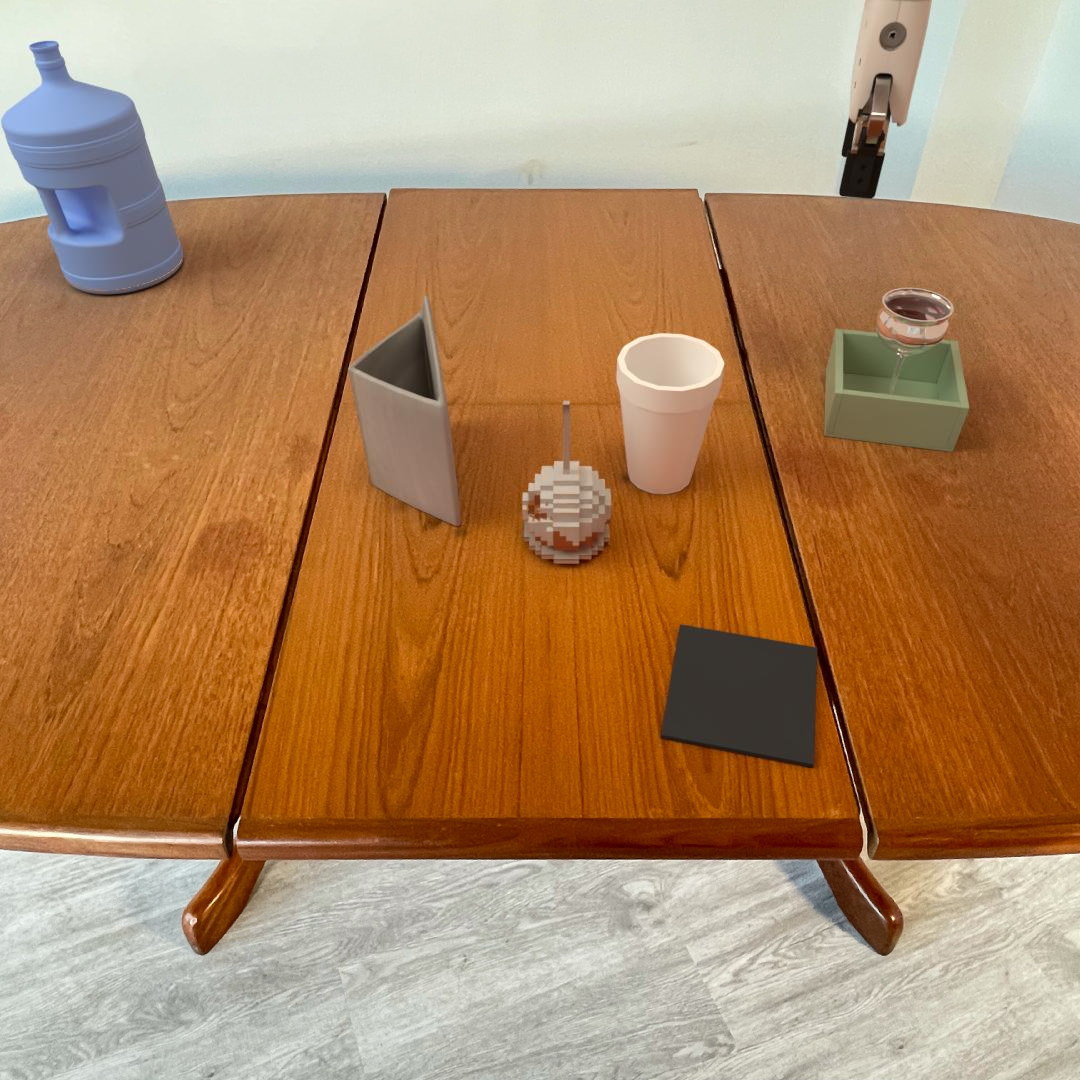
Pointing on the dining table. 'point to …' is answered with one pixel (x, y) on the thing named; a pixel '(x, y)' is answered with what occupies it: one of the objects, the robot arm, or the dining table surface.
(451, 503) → the planter
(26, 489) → the dining table surface
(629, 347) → the foam cup
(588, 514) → the decorative ornament
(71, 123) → the water jug
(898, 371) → the wineglass
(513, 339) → the dining table surface
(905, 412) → the bin
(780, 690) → the mat
